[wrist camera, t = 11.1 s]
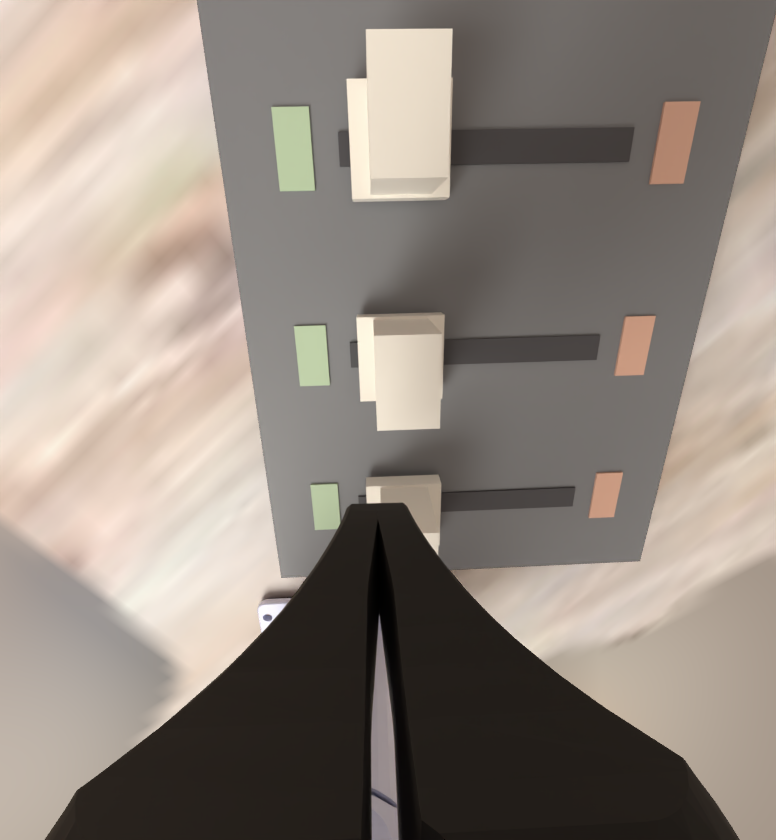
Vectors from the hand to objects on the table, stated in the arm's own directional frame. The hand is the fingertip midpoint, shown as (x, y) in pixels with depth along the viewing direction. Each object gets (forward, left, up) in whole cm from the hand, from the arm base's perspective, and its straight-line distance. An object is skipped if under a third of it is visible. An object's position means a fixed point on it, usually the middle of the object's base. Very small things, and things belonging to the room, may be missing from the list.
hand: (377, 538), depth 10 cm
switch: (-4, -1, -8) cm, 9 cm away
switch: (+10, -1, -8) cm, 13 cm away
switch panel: (+3, -4, -10) cm, 11 cm away
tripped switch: (+3, -1, -8) cm, 8 cm away
